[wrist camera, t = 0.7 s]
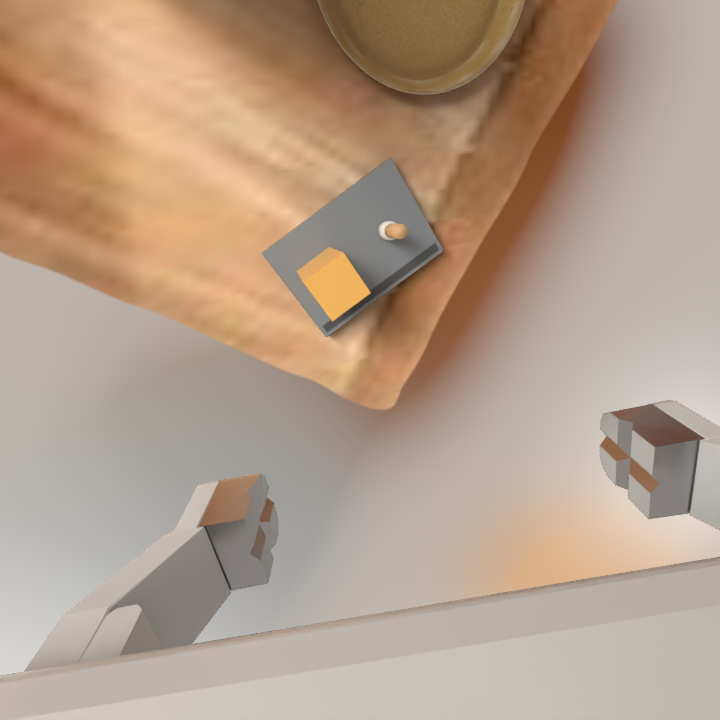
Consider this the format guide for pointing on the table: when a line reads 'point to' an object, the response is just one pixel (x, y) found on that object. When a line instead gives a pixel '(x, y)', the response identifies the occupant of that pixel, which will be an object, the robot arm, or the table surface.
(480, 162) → the table surface
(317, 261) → the tall orange brick
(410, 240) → the plate
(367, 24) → the plant saucer
